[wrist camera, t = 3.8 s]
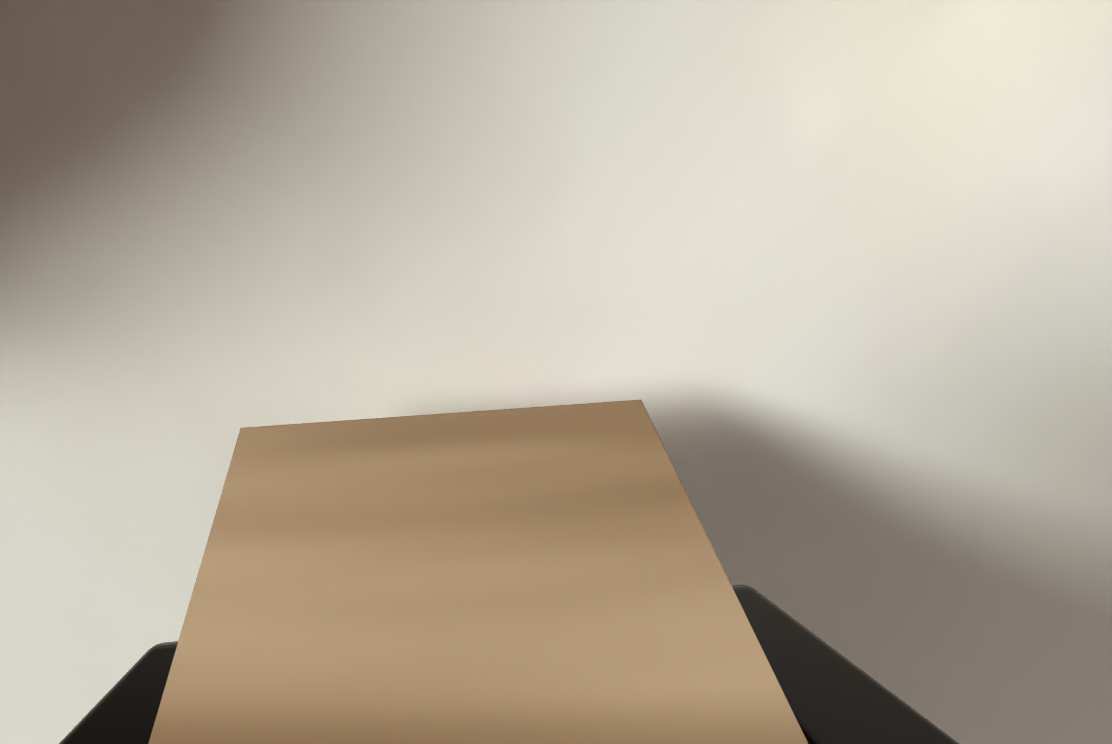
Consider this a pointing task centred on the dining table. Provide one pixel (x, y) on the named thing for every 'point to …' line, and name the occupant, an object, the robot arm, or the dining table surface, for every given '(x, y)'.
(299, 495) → the wooden plank piece
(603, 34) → the dining table surface
